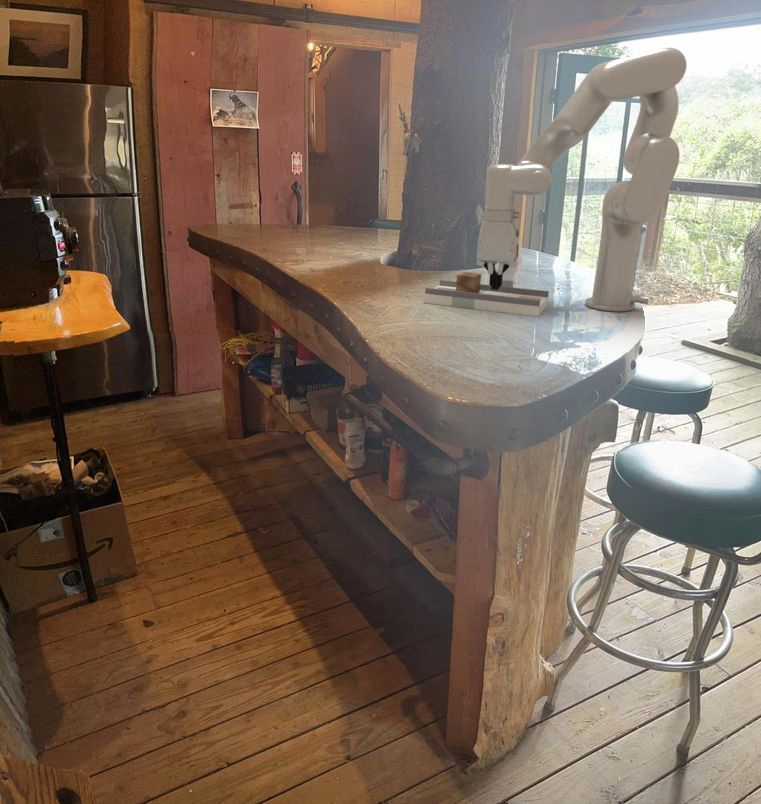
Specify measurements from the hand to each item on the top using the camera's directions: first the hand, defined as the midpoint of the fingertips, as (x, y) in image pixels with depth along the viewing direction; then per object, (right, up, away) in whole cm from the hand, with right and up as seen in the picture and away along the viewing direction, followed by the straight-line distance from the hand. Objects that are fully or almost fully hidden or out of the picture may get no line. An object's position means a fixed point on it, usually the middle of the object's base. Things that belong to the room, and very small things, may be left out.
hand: (495, 288), depth 170 cm
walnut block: (-7, -1, +3) cm, 8 cm away
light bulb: (+6, +2, +18) cm, 19 cm away
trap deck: (-2, -4, +2) cm, 5 cm away
